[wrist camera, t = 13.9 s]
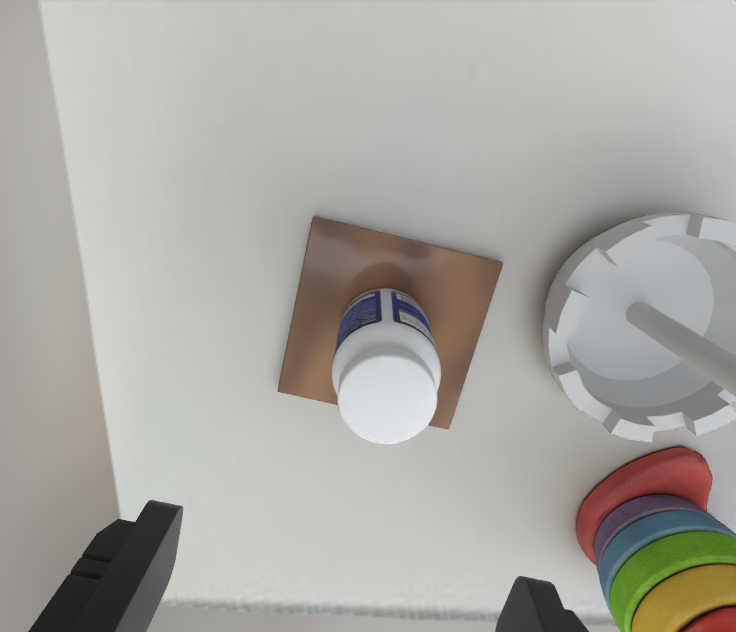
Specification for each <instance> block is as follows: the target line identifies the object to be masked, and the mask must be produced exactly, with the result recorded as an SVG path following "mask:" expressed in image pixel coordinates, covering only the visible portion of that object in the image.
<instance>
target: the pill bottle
mask: <svg viewBox="0 0 736 632" xmlns="http://www.w3.org/2000/svg"><path fill="white" fill-rule="evenodd" d="M440 379H441V366H440V360H439V356H438V353H437V350H436V346H435V343H434V340H433V337H432V333H431V330H430V327H429V323H428V320H427V317H426V315H425V313H424V311H423V309H422V308H421V306H420V305H419V304H418V303H417V302H416V301H415V300H414V299H413V298H412V297H410V296H409V295H407V294H405V293H403V292H401V291H398V290H394V289H388V288H381V289H374V290H370V291H367V292H365V293H363V294H361V295H359V296H358V297H356V298H355V299H354V300H353V301H352V302H351V303H350V304H349V305H348V306H347V308H346V309H345V311H344V313H343V315H342V318H341V321H340V324H339V330H338V336H337V342H336V347H335V353H334V358H333V363H332V381H333V386H334V389H335V392H336V394H337V402H338V409H339V412H340V415H341V417H342V419H343V421H344V422H345V424H346V425H347V426H348V428H349V429H350V430H351V431H353V432H354V433H355V434H356V435H358V436H360V437H361V438H363V439H365V440H368V441H371V442H374V443H380V444H393V443H399V442H403V441H406V440H408V439H410V438H412V437H414V436H416V435H417V434H419V433H420V432H421V431H422V430H423V429H424V428H425V427H426V426H427V425H428V424H429V423H430V421H431V419H432V417H433V415H434V413H435V410H436V406H437V391H438V388H439V385H440Z"/></svg>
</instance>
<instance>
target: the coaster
mask: <svg viewBox="0 0 736 632" xmlns="http://www.w3.org/2000/svg"><path fill="white" fill-rule="evenodd" d="M502 265H503V263H502V262H501V261H497V260H493V259H489V258H485V257H480V256H476V255H472V254H468V253H464V252H460V251H456V250H452V249H447V248H443V247H439V246H435V245H431V244H427V243H423V242H419V241H414V240H410V239H406V238H402V237H398V236H394V235H390V234H386V233H381V232H377V231H373V230H369V229H365V228H361V227H357V226H353V225H348V224H344V223H340V222H336V221H332V220H328V219H324V218H320V217H315V216H314V217H313V219H312V224H311V229H310V234H309V239H308V244H307V249H306V254H305V259H304V264H303V268H302V273H301V278H300V283H299V288H298V293H297V298H296V303H295V308H294V313H293V318H292V323H291V327H290V332H289V337H288V342H287V347H286V352H285V357H284V362H283V367H282V372H281V377H280V381H279V386H278V392H282V393H287V394H291V395H296V396H300V397H305V398H309V399H314V400H318V401H323V402H327V403H332V404H336V405H338V402H337V394H336V392H335V389H334V386H333V381H332V363H333V358H334V353H335V347H336V342H337V336H338V330H339V324H340V321H341V318H342V315H343V313H344V311H345V309H346V308H347V306H348V305H349V304H350V303H351V302H352V301H353V300H354V299H355V298H356V297H358V296H359V295H361V294H363V293H365V292H367V291H370V290H374V289H381V288H388V289H394V290H398V291H401V292H403V293H405V294H407V295H409V296H410V297H412V298H413V299H414V300H415V301H416V302H417V303H418V304H419V305H420V306H421V308H422V309H423V311H424V313H425V315H426V317H427V320H428V323H429V327H430V330H431V333H432V337H433V340H434V343H435V346H436V350H437V353H438V356H439V360H440V366H441V379H440V385H439V388H438V391H437V406H436V410H435V413H434V415H433V417H432V419H431V421H430V423H429V424H428V425H430V426H435V427H439V428H444V429H449V427H450V424H451V421H452V418H453V415H454V412H455V409H456V406H457V402H458V399H459V396H460V393H461V390H462V387H463V384H464V381H465V378H466V375H467V372H468V369H469V366H470V363H471V360H472V357H473V354H474V351H475V348H476V344H477V341H478V338H479V335H480V332H481V329H482V326H483V323H484V320H485V317H486V314H487V311H488V308H489V305H490V302H491V299H492V296H493V293H494V290H495V286H496V283H497V280H498V277H499V274H500V271H501V268H502Z"/></svg>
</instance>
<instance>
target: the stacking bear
mask: <svg viewBox="0 0 736 632" xmlns="http://www.w3.org/2000/svg"><path fill="white" fill-rule="evenodd" d="M711 485H712V474H711V472H710V470H709V466H708V463H707V461H706V460H705V458H704V457H703V456H702V455H700V454H698V453H694V452H692V451H691V450H690V449H687V448H672V449H668V450H664V451H660V452H657V453H654V454H651V455H648V456H646V457H643V458H641V459H638V460H636V461H634V462H632V463H630V464H628V465H626V466H625V467H623V468H621V469H620V470H618V471H617V472H615V473H614V474H612V475H611V476H609V477H608V478H607V479H605V480H604V481H603V482H602V483H601V484H600V485H599V486H597V487H596V488H595V490H594V491H593V492H592V493H591V494H590V495H589V496H588V497H587V499H586V500H585V501H584V503H583V505H582V507H581V509H580V511H579V514H578V517H577V523H576V532H577V538H578V541H579V544H580V546H581V548H582V550H583V551H584V553H585V554H586V555H587V557H588V558H589V559H590V560H591V561H592V562H593V563H594V564H595V565H596V566H597V570H598V574H599V578H600V584H601V588H602V591H603V594H604V597H605V600H606V603H607V606H608V608H609V610H610V613H611V614H612V616H613V618H614V621H615V622H616V624H617V626H618V628H619V629H620V631H621V632H736V534H735V533H734V532H733V531H731V530H730V529H729V528H728V527H726V526H725V525H724V524H722V523H721V522H720V521H718V520H716V519H715V518H714V517H713V516H712V515H710V514H709V513H708V512H707V500H708V496H709V492H710V489H711Z"/></svg>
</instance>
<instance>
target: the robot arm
mask: <svg viewBox="0 0 736 632" xmlns="http://www.w3.org/2000/svg"><path fill="white" fill-rule="evenodd" d="M182 515H183V507H182V506H179V505H174V504H169V503H164V502H159V501H154V500H150V501H148V503H147V504H146V505H145V507H144V509H143V510H142V512H141V513H140V515H139V517H138V518H137V520H136V522H131V521H126V520H121V519H117V520H116V521H115V522H113V523H112V524H110V525H109V526H107V527H106V528H104V529H103V530H102V531H100V532H99V533H97V534H96V536H95V537H94V539H93V540H92V541H91V543H90V544H89V546H88V547H87V549H86V550H85V551H84V553H83V555H82V557H81V558H80V559H79V560H78V561H77V563H76V564H75V566H74V567H73V569H72V570H71V573H70V575H68V576H67V577H66V579H65V580H64V581H63V583H62V584H61V586H60V587H59V589H58V590H57V592H56V593H55V595H54V596H53V597H52V599H51V600H50V602H49V603H48V604H47V606H46V607H45V609H44V610H43V611H42V613H41V614H40V616H39V617H38V619H37V620H36V622H35V623H34V625H33V626H32V627H31V629H30V630H29V631H28V632H146V631H147V629H148V626H149V624H150V622H151V620H152V618H153V615H154V614H155V611H156V609H157V607H158V605H159V603H160V601H161V598H162V596H163V594H164V592H165V590H166V587H167V585H168V582H169V580H170V577H171V574H172V571H173V567H174V563H175V559H176V553H177V547H178V541H179V534H180V528H181V521H182ZM495 632H589V631H588V630H587V628H586V627H585V626H584V625H583V623H582V622H581V621H580V620H579V618H578V617H577V616H576V615H575V613H574V612H573V611H571V610H566V609H564V607H563V605H562V603H561V600H560V598H559V595H558V593H557V590H556V588H555V586H554V585H553V584H552V583H551V582H548V581H543V580H538V579H533V578H528V577H523V576H519V577H518V578H517V579H516V580H515V582H514V584H513V587H512V589H511V591H510V594H509V596H508V598H507V601H506V603H505V605H504V608H503V610H502V612H501V614H500V617H499V619H498V622H497V625H496V631H495Z"/></svg>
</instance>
